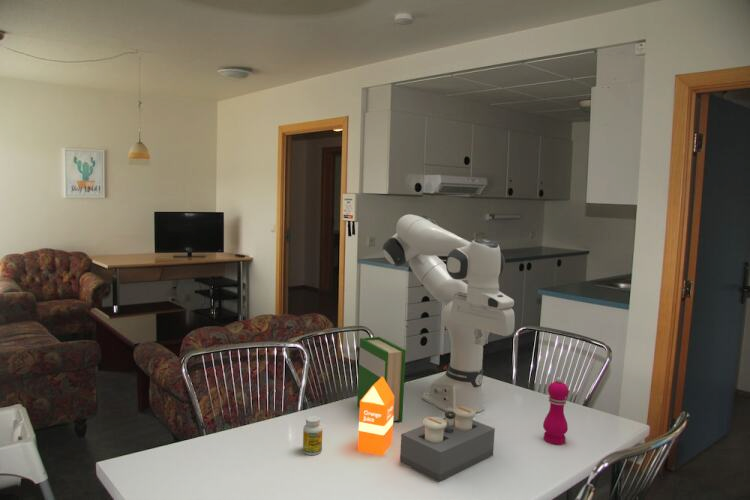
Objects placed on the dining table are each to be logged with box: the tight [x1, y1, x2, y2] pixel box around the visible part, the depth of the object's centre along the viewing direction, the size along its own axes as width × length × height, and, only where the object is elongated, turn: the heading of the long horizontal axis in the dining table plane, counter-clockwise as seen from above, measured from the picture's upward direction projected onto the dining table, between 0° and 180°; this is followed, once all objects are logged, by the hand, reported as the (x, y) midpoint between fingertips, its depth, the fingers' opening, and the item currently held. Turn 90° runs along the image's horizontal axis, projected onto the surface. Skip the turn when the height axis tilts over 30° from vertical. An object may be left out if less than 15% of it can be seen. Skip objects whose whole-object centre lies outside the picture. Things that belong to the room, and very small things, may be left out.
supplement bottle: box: [302, 415, 323, 456], centre depth 159 cm, size 5×5×10 cm
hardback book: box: [356, 336, 407, 424], centre depth 188 cm, size 18×7×24 cm, turn 29°
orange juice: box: [357, 376, 394, 456], centre depth 163 cm, size 8×9×20 cm
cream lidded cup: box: [453, 406, 476, 432], centre depth 163 cm, size 6×6×10 cm
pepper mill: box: [542, 376, 570, 445], centre depth 174 cm, size 7×7×20 cm
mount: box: [399, 416, 496, 483], centre depth 159 cm, size 14×24×8 cm, turn 134°
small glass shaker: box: [444, 411, 456, 433], centre depth 158 cm, size 3×3×5 cm
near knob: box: [422, 416, 447, 444], centre depth 154 cm, size 6×6×10 cm
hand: (479, 344), depth 161 cm, fingers closed
